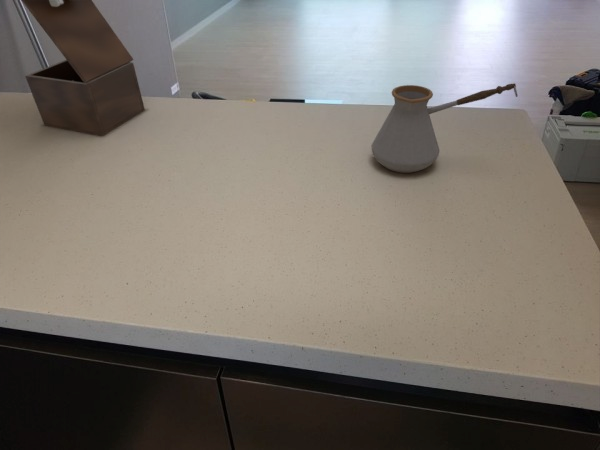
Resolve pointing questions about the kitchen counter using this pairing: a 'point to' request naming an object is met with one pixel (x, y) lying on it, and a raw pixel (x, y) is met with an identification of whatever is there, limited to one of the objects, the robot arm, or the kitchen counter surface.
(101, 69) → the lid
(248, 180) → the kitchen counter surface
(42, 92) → the chest
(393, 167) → the coffee pot
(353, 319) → the kitchen counter surface
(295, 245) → the kitchen counter surface
